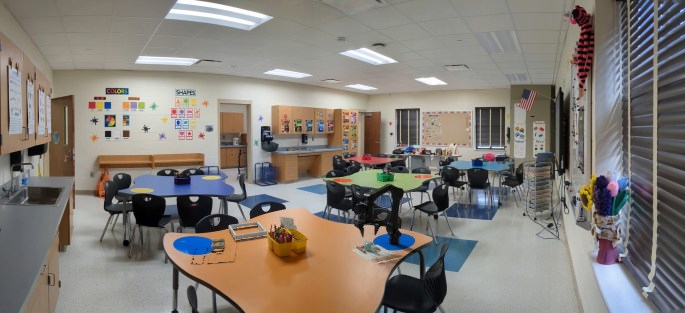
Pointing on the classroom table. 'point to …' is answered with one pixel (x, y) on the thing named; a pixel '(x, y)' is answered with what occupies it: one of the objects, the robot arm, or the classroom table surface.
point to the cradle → (364, 250)
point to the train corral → (248, 233)
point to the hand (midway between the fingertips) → (369, 236)
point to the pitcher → (287, 223)
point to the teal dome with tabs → (369, 246)
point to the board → (373, 253)
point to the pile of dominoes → (218, 243)
